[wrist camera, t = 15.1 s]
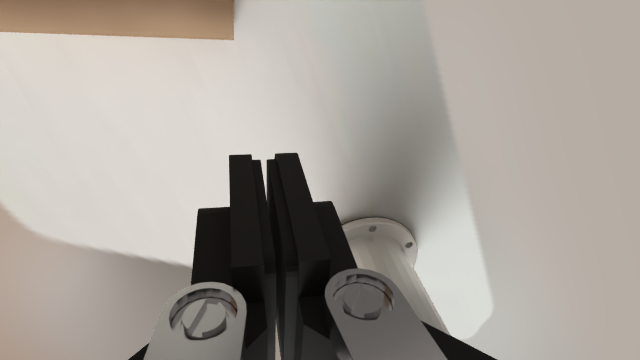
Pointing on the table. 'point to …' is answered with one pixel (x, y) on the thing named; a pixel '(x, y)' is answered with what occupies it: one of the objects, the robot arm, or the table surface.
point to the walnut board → (121, 18)
